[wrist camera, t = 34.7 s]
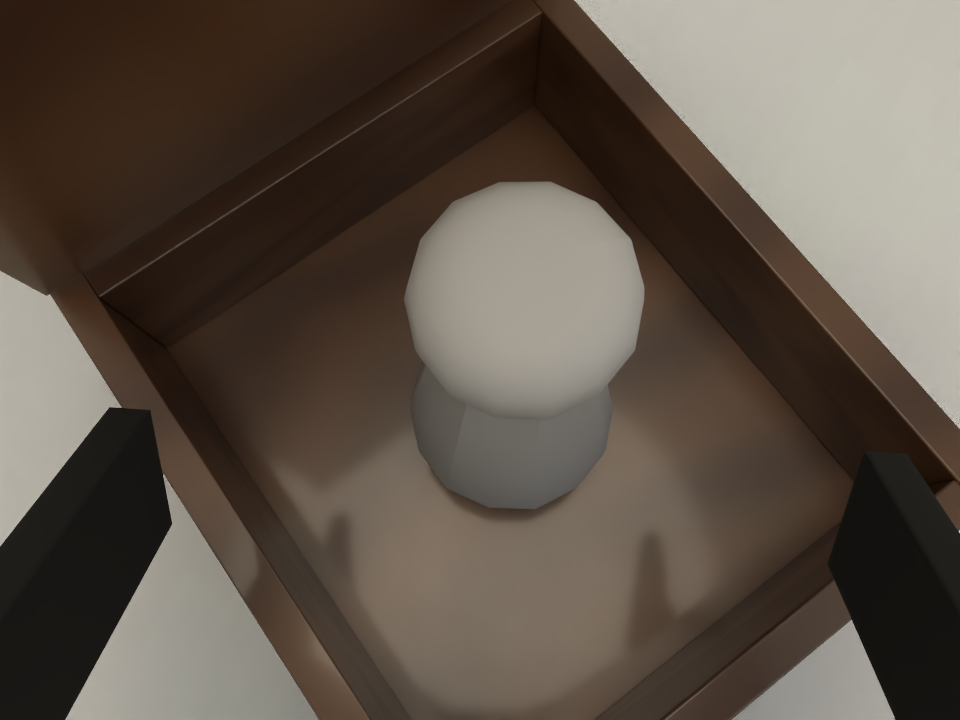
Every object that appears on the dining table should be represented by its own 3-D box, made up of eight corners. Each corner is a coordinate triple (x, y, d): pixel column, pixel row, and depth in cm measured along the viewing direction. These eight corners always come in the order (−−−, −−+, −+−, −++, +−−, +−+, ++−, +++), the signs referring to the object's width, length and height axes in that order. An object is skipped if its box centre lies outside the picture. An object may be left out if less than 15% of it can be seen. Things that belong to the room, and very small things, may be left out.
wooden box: (899, 508, 27) (1013, 486, 21) (468, 860, 24) (461, 945, 18) (538, 86, 31) (549, -29, 25) (137, 351, 28) (47, 290, 23)
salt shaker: (580, 536, 26) (665, 488, 13) (398, 493, 26) (313, 406, 14) (616, 356, 27) (724, 158, 15) (443, 318, 28) (404, 93, 15)
